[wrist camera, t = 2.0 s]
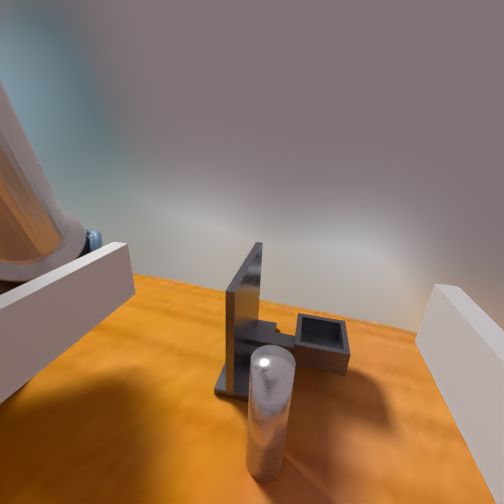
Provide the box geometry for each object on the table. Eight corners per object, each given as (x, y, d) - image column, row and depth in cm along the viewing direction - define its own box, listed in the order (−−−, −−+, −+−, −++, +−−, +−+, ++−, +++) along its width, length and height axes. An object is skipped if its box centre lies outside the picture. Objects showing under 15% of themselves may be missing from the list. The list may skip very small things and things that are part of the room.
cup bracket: (214, 393, 40) (211, 288, 32) (244, 321, 56) (246, 240, 49) (343, 425, 36) (373, 314, 29) (335, 338, 52) (353, 253, 45)
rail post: (241, 475, 30) (245, 374, 24) (250, 437, 34) (255, 341, 28) (279, 487, 29) (293, 384, 23) (283, 446, 33) (297, 349, 27)
